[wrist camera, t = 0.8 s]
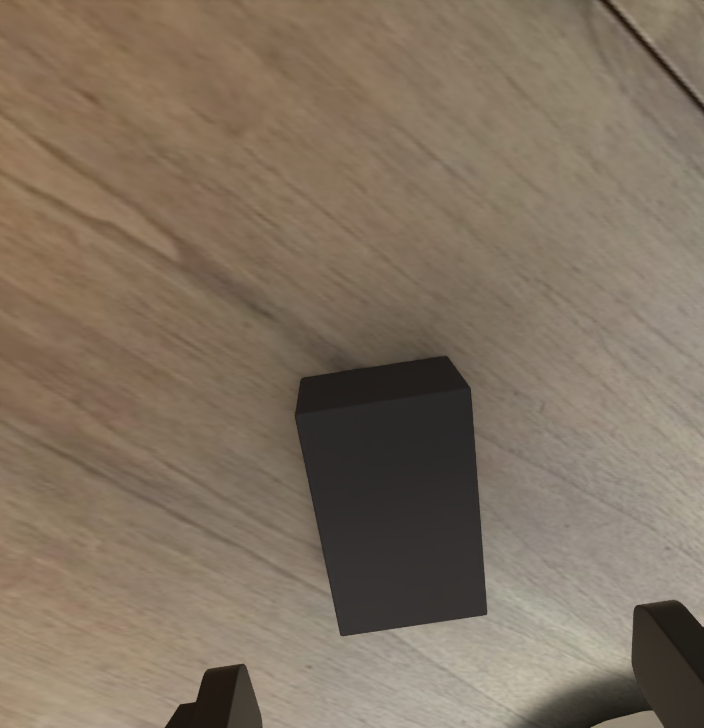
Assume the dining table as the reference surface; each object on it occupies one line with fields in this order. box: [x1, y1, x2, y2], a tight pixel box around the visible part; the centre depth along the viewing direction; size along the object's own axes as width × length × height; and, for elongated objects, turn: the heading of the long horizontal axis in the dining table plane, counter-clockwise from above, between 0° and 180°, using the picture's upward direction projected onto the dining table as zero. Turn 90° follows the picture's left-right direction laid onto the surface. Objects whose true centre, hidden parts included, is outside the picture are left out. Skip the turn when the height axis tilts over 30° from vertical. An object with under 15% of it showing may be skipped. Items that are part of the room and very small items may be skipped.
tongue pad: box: [295, 356, 487, 636], centre depth 19 cm, size 10×6×4 cm, turn 9°
